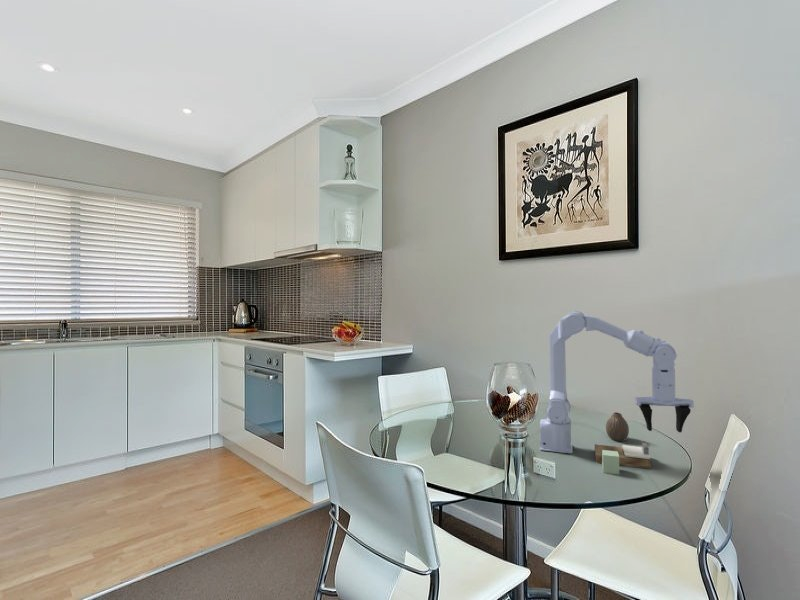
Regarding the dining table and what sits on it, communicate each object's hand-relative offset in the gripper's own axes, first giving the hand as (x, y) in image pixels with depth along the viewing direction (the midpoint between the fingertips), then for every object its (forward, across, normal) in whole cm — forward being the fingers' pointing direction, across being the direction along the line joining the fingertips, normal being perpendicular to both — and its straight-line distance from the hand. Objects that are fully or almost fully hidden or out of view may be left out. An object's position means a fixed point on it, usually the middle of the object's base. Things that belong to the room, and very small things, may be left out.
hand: (664, 430), depth 126 cm
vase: (+10, -9, +18) cm, 22 cm away
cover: (+7, -8, 0) cm, 10 cm away
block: (+9, -16, -9) cm, 21 cm away
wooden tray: (+9, -11, 0) cm, 15 cm away
